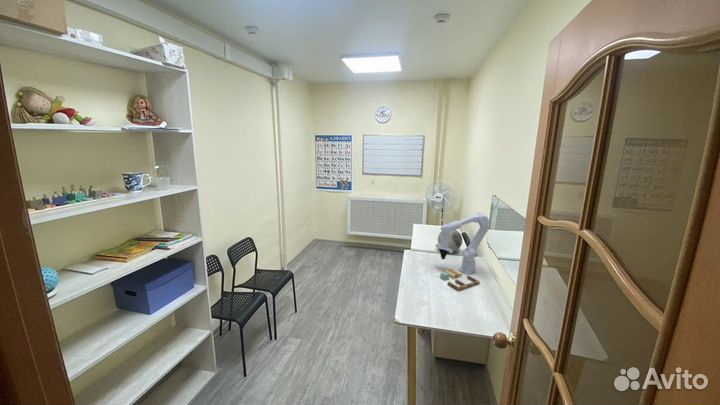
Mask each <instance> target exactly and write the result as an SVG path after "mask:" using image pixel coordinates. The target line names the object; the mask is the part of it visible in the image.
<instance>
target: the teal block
mask: <svg viewBox="0 0 720 405" xmlns="http://www.w3.org/2000/svg"><path fill="white" fill-rule="evenodd" d="M440 279H441V280H442V281H444V282H445V281H448V280H449V279H450V277H449V274H448V273H446V272H445V271H444V272H440Z"/></svg>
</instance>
